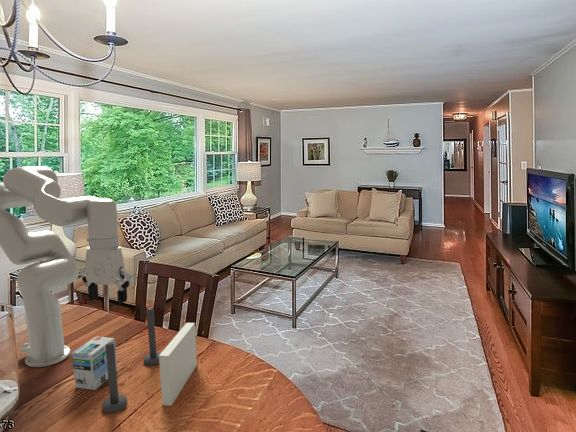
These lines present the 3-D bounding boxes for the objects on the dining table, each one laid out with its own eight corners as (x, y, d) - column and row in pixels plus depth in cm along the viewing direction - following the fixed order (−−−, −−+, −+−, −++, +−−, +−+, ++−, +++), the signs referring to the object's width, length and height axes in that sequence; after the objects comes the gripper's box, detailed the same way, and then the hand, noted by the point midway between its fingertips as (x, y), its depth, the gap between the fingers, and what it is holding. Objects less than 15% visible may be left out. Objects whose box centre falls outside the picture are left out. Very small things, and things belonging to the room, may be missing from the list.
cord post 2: (140, 365, 124) (136, 312, 121) (148, 355, 130) (145, 305, 127) (158, 366, 123) (155, 313, 121) (166, 356, 129) (163, 306, 126)
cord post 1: (97, 412, 101) (91, 349, 99) (110, 398, 107) (105, 338, 104) (119, 414, 101) (114, 351, 98) (131, 399, 107) (126, 339, 104)
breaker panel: (157, 404, 104) (154, 355, 102) (185, 364, 124) (183, 322, 122) (171, 405, 104) (168, 356, 102) (196, 365, 123) (194, 322, 121)
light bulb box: (95, 390, 111) (91, 354, 109) (74, 388, 112) (70, 352, 110) (118, 370, 121) (115, 337, 119) (99, 368, 122) (96, 335, 121)
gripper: (68, 243, 110) (73, 302, 113) (122, 248, 106) (125, 308, 109) (87, 237, 117) (91, 293, 120) (139, 241, 113) (142, 299, 116)
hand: (108, 300), depth 114 cm, fingers open, 9 cm apart
